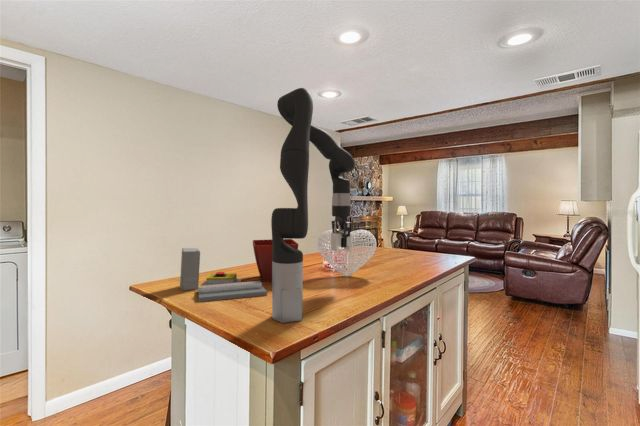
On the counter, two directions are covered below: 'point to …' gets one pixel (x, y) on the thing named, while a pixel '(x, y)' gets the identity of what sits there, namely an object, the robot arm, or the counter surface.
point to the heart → (368, 256)
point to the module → (339, 242)
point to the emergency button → (221, 278)
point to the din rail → (230, 287)
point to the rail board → (231, 294)
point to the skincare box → (190, 269)
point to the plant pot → (267, 256)
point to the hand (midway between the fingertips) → (340, 246)
